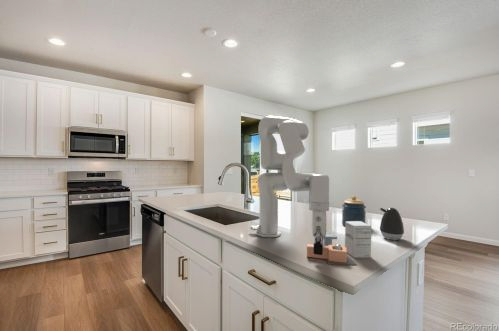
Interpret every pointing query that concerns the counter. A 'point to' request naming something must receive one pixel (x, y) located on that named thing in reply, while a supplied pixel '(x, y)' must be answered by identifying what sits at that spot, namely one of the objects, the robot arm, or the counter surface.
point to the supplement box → (358, 239)
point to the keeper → (328, 239)
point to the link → (329, 253)
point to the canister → (353, 210)
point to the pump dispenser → (391, 224)
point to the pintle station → (349, 262)
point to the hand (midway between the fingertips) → (318, 249)
